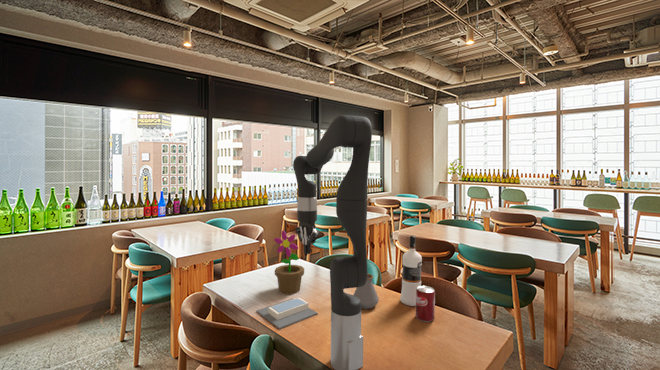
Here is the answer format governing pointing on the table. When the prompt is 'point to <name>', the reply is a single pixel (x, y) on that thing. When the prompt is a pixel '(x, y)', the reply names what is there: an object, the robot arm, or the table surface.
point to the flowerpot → (288, 267)
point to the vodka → (411, 274)
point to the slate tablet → (288, 308)
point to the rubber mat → (289, 319)
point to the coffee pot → (367, 294)
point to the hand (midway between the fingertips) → (307, 253)
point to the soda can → (425, 303)
